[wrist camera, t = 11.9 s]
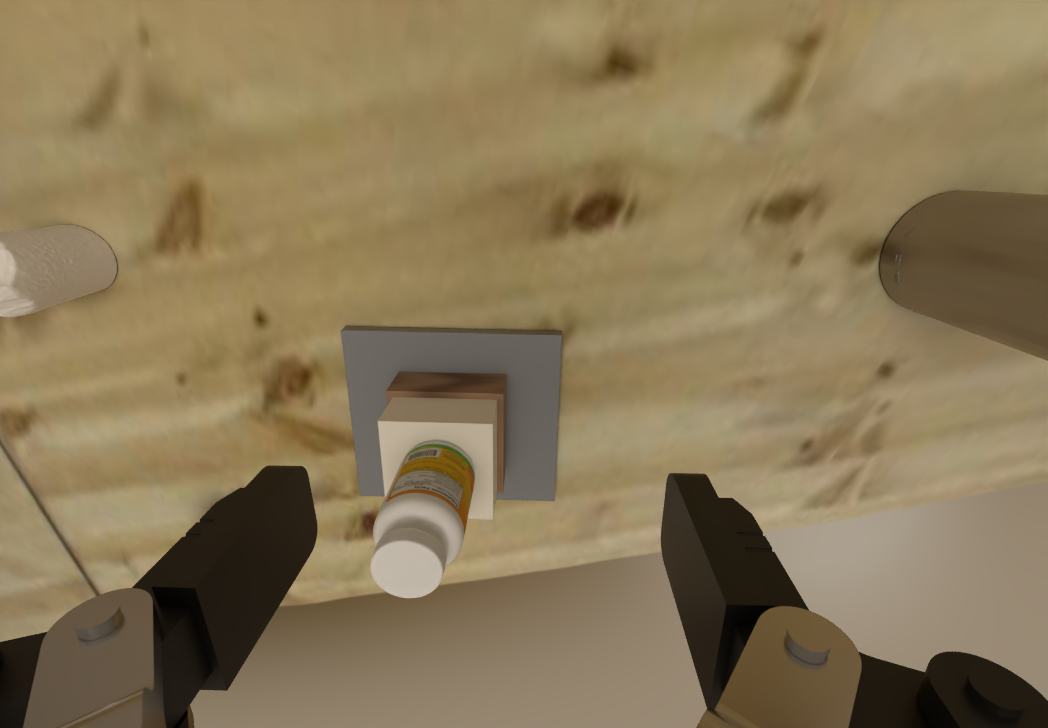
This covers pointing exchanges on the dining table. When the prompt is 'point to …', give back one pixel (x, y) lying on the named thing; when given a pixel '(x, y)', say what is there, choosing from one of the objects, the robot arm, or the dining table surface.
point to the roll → (51, 267)
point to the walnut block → (459, 389)
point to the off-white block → (444, 439)
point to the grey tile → (448, 350)
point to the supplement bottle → (422, 519)
